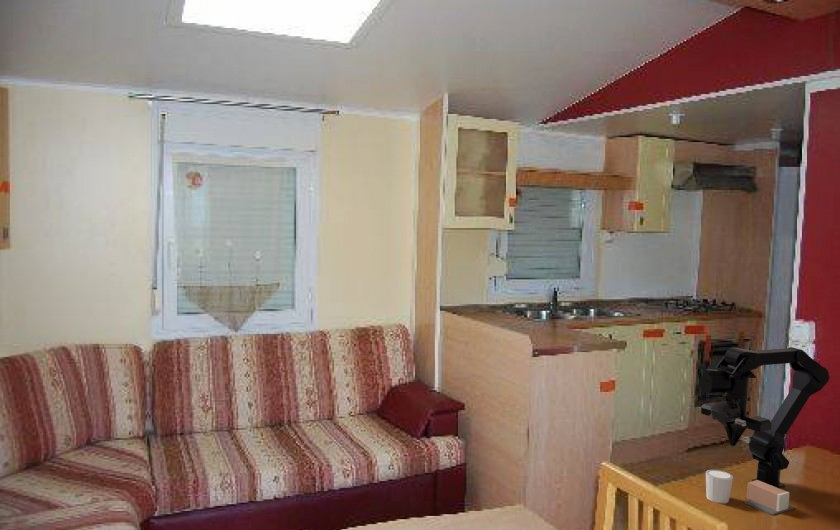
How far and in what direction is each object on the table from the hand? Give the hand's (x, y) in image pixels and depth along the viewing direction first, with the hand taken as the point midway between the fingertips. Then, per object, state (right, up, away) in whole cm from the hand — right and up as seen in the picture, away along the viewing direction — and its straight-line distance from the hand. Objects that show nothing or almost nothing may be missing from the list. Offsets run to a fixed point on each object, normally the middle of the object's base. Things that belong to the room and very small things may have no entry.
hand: (732, 445), depth 184 cm
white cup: (-8, -13, -8) cm, 17 cm away
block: (+2, -10, -7) cm, 12 cm away
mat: (+4, -13, -11) cm, 18 cm away
